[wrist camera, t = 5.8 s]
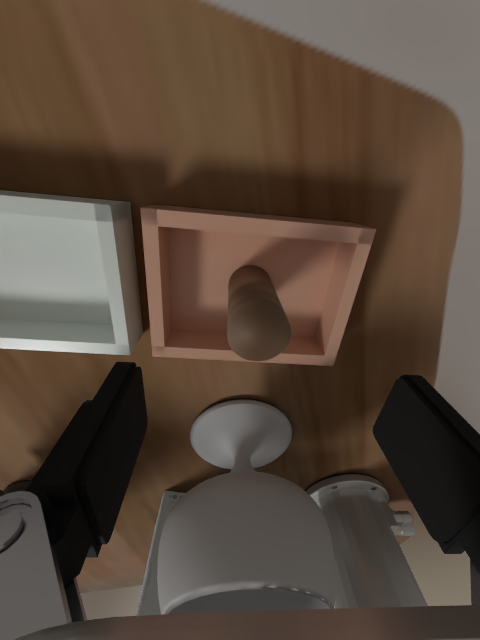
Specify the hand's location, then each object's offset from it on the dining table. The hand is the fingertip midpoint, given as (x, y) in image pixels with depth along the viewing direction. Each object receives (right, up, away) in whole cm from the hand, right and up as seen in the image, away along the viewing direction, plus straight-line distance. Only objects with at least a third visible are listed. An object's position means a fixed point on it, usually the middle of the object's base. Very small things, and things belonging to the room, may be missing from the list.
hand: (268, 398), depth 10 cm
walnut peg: (0, +6, +12) cm, 13 cm away
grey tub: (-17, +7, +11) cm, 22 cm away
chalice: (-1, -11, +22) cm, 24 cm away
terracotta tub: (0, +6, +13) cm, 14 cm away
